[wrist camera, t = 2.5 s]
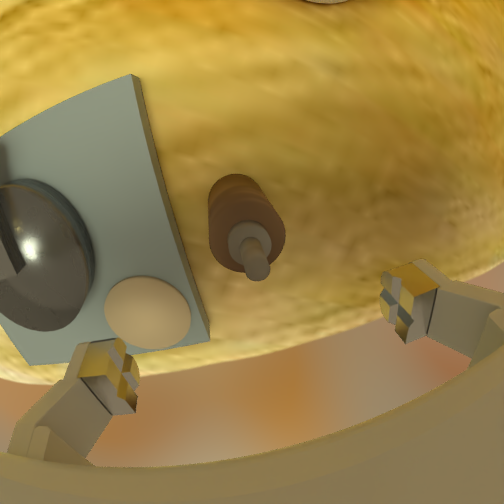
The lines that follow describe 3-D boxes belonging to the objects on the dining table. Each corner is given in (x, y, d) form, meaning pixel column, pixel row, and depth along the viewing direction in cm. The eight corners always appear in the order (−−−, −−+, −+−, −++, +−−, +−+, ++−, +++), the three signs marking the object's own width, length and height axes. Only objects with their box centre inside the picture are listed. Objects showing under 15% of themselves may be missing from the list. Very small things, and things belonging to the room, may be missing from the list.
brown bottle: (257, 168, 18) (298, 216, 10) (266, 219, 19) (307, 296, 12) (202, 180, 18) (199, 239, 10) (215, 230, 19) (222, 316, 11)
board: (139, 77, 14) (129, 73, 12) (209, 323, 22) (210, 344, 20) (-47, 177, 13) (-65, 185, 11) (36, 351, 22) (28, 368, 20)
